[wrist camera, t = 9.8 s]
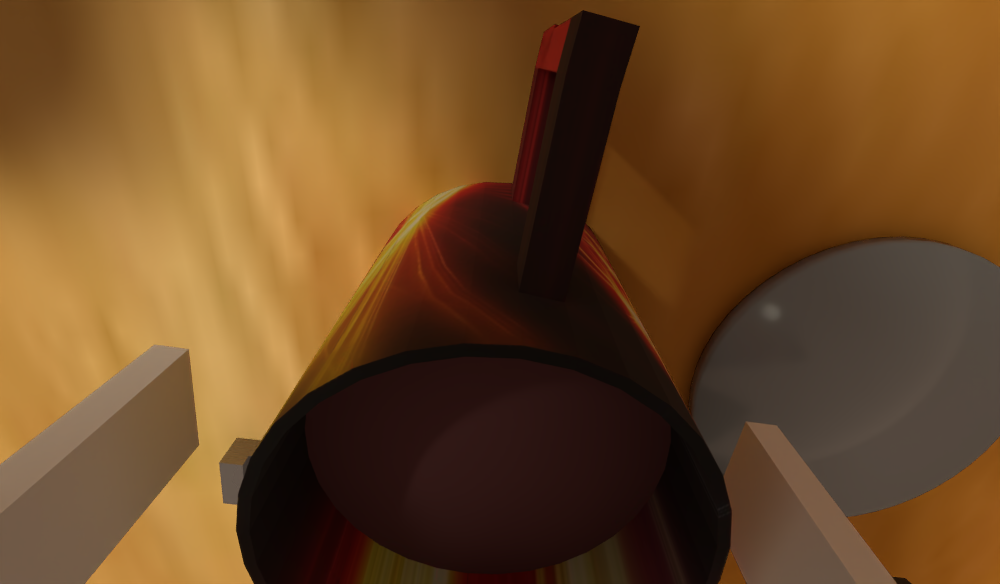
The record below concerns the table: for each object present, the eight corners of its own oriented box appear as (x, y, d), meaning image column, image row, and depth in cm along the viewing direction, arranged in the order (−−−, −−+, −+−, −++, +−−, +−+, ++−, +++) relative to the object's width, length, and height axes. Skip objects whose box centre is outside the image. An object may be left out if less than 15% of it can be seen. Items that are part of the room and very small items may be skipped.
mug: (565, 27, 17) (679, -35, 6) (628, 370, 23) (749, 664, 12) (295, 104, 18) (-24, 170, 7) (418, 415, 24) (346, 723, 13)
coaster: (750, 212, 20) (760, 218, 19) (1092, 263, 20) (1114, 270, 20) (652, 489, 25) (657, 501, 24) (923, 519, 26) (935, 533, 25)
